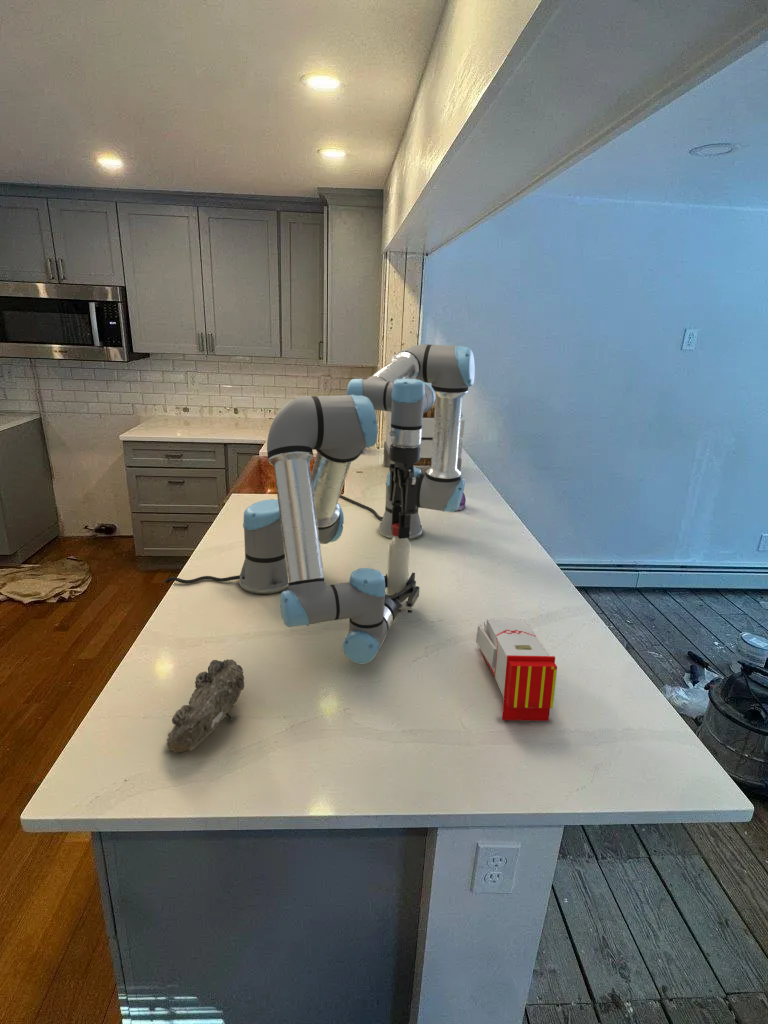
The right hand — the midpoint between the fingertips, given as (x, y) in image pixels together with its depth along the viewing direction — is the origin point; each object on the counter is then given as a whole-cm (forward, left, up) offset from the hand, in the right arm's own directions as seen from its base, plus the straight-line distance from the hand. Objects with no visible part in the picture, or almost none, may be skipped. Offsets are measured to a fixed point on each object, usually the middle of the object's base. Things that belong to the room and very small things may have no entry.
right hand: (400, 533), depth 145 cm
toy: (+39, -2, -21) cm, 44 cm away
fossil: (+12, -57, -21) cm, 62 cm away
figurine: (-45, +72, -21) cm, 87 cm away
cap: (0, 0, +2) cm, 2 cm away
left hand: (-3, +4, -14) cm, 15 cm away
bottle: (0, 0, -21) cm, 21 cm away
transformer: (-90, +96, -21) cm, 133 cm away
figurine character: (-140, +98, -21) cm, 172 cm away
